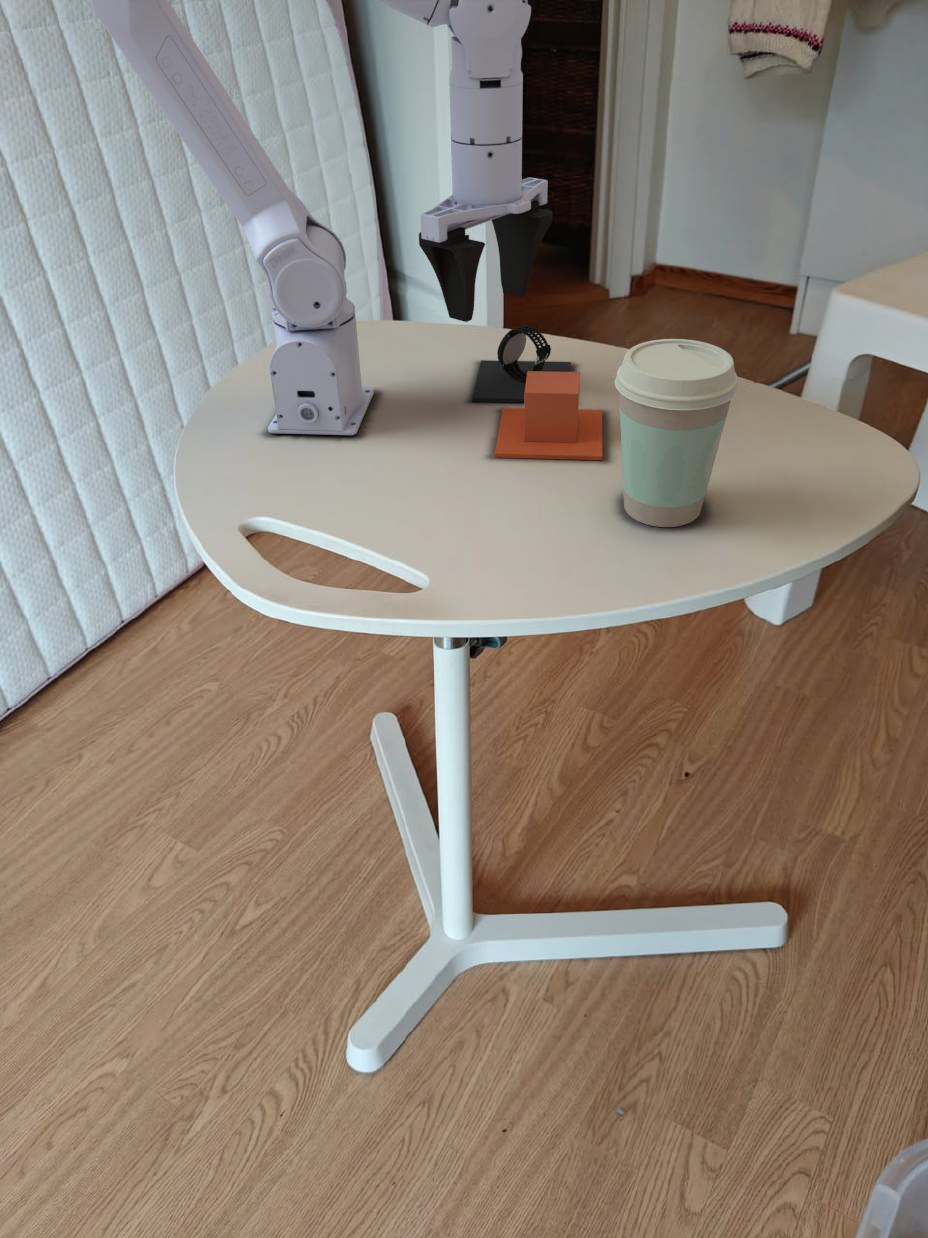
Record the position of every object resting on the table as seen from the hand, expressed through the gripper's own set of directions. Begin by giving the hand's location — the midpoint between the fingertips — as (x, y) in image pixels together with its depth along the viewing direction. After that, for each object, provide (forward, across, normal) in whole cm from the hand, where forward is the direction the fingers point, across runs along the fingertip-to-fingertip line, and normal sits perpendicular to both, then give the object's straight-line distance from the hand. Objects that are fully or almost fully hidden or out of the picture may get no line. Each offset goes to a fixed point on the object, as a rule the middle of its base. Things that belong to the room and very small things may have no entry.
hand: (488, 306), depth 87 cm
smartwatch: (+9, +5, 0) cm, 10 cm away
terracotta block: (+8, -3, -9) cm, 13 cm away
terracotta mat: (+9, -3, -9) cm, 13 cm away
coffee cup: (+9, -8, -23) cm, 26 cm away
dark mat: (+9, +5, 0) cm, 10 cm away
